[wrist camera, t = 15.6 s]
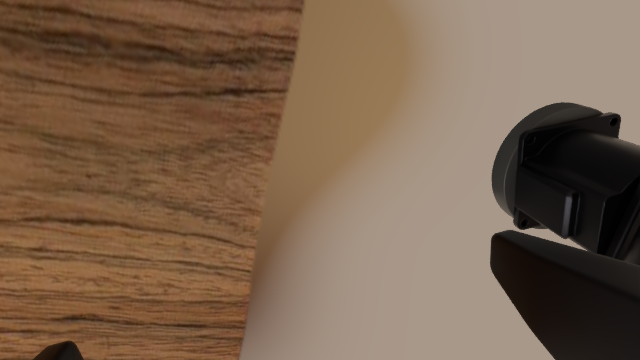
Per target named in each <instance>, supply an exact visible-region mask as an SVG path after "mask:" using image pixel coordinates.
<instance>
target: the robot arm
mask: <svg viewBox="0 0 640 360" xmlns="http://www.w3.org/2000/svg"><path fill="white" fill-rule="evenodd" d="M610 121H611V122H610ZM620 122H621V117H620V115H618V114H616V113H605V114H600V115H595V116H590V117H585V118H581V119H576V120H571V121H567V122H562V123H557V124H553V125H548V126H543V127H538V128H534V129H529V130H526V131H524V132H522V133H521V135H520V136H519V141H518V157H517V170H516V184H515V200H514V220H513V222H514V225H515V226H516V227H517V228H519V229H521V230H524V229H528V228H532V227H536V226H540V225H543V226H545V227H546V228H548V229H549V230H551V231H552V232H554V233H556V234H557V235H558V236H560V237H561V238H563V239H567V238H569V239H571V240H572V241H573V242H575V243H577V244H578V245H580V246H581V247H583V248H584V249H586V250H587V251H585V250H582V249H577V248H574V247H571V246H567V245H564V244H560V243H556V242H553V241H549V240H546V239H542V238H538V237H535V236H531V235H528V234H524V233H520V232H517V231H513V230H507V231H503V232H499V233H495V234H494V235H493V236H492V238H491V256H490V266H491V270H492V272H493V274H494V276H495V278H496V279H497V280H498V282H499V283H500V285H501V286H502V288H503V289H504V291H505V292H506V294H507V295H508V297H509V298H510V300H511V301H512V303H513V304H514V306H515V307H516V309H517V310H518V312H519V313H520V315H521V316H522V318H523V319H524V321H525V322H526V323H527V325H528V326H529V328H530V329H531V330H532V332H533V333H534V334H535V336H536V337H537V338H538V339H539V340H540V342H541V343H542V344H543V345H544V347H545V348H546V349H547V350H548V351H549V353H550V354H551V355H552V356H553V358H554V359H555V360H640V146H639V145H636V144H633V143H630V142H627V141H623V140H620V139H618V135H619V129H620ZM529 137H530V140H529V141H528V142H527V139H528V138H529ZM523 220H524V221H523ZM522 221H523V222H522ZM521 222H522V223H521ZM33 360H84V359H83V357H82V355H81V353H80V351H79V349H78V347H77V346H76V344H75V343H74V342H72V341H65V342H61V343H57V344H53V345H50V346H48V347H47V348H45V349H44V350H43V351H42V352H41V353H40V354H38V355H37V356H36V357H35V358H34V359H33Z"/></svg>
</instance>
